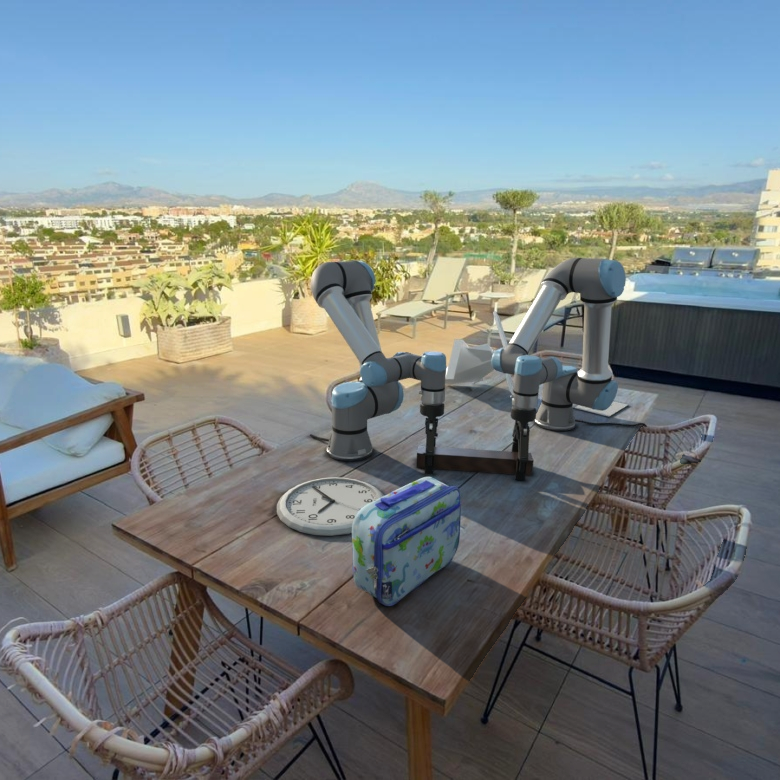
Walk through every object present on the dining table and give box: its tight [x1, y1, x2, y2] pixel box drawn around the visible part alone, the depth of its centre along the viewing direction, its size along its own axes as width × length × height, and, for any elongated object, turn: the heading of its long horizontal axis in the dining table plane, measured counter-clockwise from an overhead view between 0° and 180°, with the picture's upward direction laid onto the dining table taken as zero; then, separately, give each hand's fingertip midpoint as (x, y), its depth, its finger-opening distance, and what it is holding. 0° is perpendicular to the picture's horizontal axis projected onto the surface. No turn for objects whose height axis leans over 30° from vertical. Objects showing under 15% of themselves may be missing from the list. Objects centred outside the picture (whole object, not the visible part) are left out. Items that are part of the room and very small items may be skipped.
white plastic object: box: [445, 310, 514, 395], centre depth 245 cm, size 37×45×31 cm
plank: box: [415, 445, 534, 476], centre depth 166 cm, size 36×6×5 cm, turn 83°
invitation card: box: [573, 400, 629, 418], centre depth 226 cm, size 21×1×15 cm
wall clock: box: [276, 476, 385, 537], centre depth 142 cm, size 30×2×30 cm
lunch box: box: [351, 476, 462, 607], centre depth 111 cm, size 26×11×21 cm, turn 135°
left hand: (430, 464), depth 168 cm, fingers open, 13 cm apart
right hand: (517, 470), depth 165 cm, fingers open, 13 cm apart
